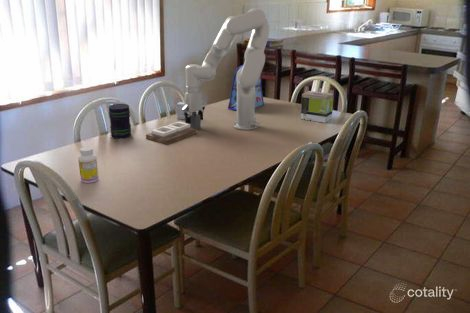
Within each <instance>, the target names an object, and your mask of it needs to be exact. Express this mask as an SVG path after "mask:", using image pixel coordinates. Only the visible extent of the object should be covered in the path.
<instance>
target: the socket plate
mask: <svg viewBox="0 0 470 313" xmlns="http://www.w3.org/2000/svg"><path fill="white" fill-rule="evenodd" d="M189 129H190V124H187V123H185V122H184V121H180V120H179V121H176V122H173V123H170V124H167V125H166V126H165V125H164V126H160V127H157V128H154V129H152V130H151V133H152V135H153V136H156V137H160V138H166V137H169V136H172V135H175V134H177V133H180V132H183V131H186V130H189Z"/></svg>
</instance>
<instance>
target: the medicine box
mask: <svg viewBox="0 0 470 313" xmlns="http://www.w3.org/2000/svg"><path fill="white" fill-rule="evenodd" d="M183 107H184V102H181V101H179V102H178V103H176V115H177V116H176V118H177V120H185V116H184V114H183V112H182V108H183ZM188 113H189V112H188ZM188 113H187V114H188ZM191 114H192V113H191Z"/></svg>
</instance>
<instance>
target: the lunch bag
mask: <svg viewBox="0 0 470 313" xmlns="http://www.w3.org/2000/svg"><path fill="white" fill-rule="evenodd" d="M243 65H244V64H242V65H240V66H238V67H236V69H235V71H234V74H233V79H232V84H231V89H230V95H229V103H228V106H227V109H228V110H229V111H230V110H236V111H237V81H236V76H237V72H238V70H239V69H240V68H241V67H243ZM264 104H265V101H264V95H263V89H262V76H261V75H260V78H259V80H258V83H257V84H256V86H255V109H257V108H259V107H262V106H264Z"/></svg>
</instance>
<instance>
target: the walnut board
mask: <svg viewBox="0 0 470 313" xmlns="http://www.w3.org/2000/svg"><path fill="white" fill-rule="evenodd" d="M196 134H197V129H192V128H190V129H189V130H186V131H183V132H180V133H177V134H175V135H172V136H169V137H166V138H160V137H156V136H153V135H152V132H149V133H147V134H145V139H146V140H147V139H148V140H150V141H155V142H158V143H161V144H165V145H168V144H172V143H174V142H177V141H179V140H182V139H185V138H188V137H191V136H192V135H196Z"/></svg>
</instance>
